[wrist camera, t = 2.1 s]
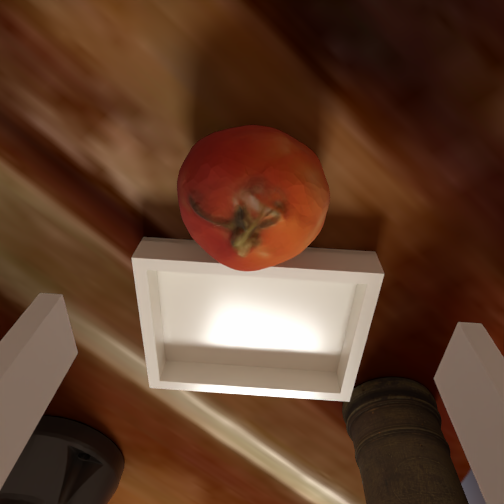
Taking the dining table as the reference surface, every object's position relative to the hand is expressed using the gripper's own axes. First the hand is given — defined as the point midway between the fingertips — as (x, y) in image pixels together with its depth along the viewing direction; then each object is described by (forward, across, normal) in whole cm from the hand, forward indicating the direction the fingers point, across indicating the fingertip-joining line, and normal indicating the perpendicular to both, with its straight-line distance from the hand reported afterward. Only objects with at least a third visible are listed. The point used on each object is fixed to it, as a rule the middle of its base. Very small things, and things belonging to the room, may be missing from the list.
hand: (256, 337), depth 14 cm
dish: (+16, 0, -13) cm, 21 cm away
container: (+16, +14, -24) cm, 32 cm away
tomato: (+17, -1, -1) cm, 17 cm away
